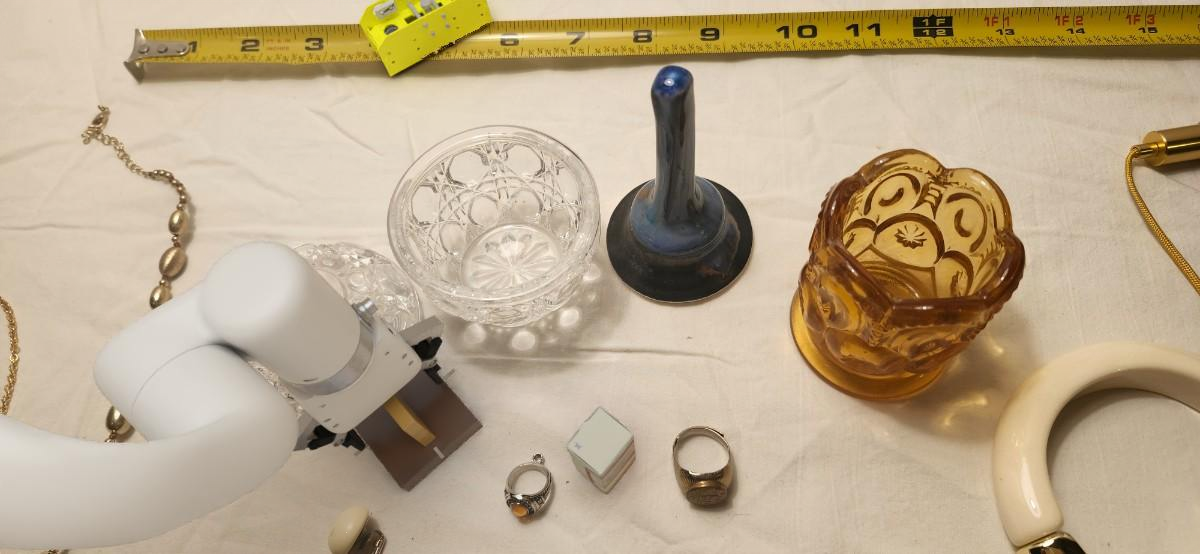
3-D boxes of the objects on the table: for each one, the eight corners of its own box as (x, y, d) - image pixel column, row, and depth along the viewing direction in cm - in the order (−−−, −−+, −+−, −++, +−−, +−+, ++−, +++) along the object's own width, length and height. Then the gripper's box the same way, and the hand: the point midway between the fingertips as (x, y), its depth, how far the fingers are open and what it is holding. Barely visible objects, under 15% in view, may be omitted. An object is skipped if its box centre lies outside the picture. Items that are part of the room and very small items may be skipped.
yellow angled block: (436, 437, 76) (414, 419, 70) (425, 447, 76) (402, 430, 69) (386, 378, 80) (360, 355, 73) (375, 386, 79) (349, 365, 73)
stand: (498, 419, 79) (492, 413, 77) (399, 507, 76) (390, 503, 74) (425, 336, 84) (418, 328, 82) (330, 416, 81) (319, 409, 79)
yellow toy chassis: (475, 2, 105) (460, -46, 98) (495, 26, 103) (481, -21, 96) (376, 55, 103) (352, 10, 95) (393, 81, 101) (370, 37, 93)
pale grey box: (607, 496, 75) (598, 478, 66) (574, 468, 76) (561, 447, 67) (640, 456, 76) (635, 433, 67) (607, 429, 78) (598, 403, 68)
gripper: (383, 250, 63) (440, 325, 78) (209, 386, 59) (304, 437, 74) (435, 308, 60) (483, 374, 76) (256, 455, 56) (345, 493, 72)
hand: (394, 405), depth 75 cm, fingers open, 9 cm apart
